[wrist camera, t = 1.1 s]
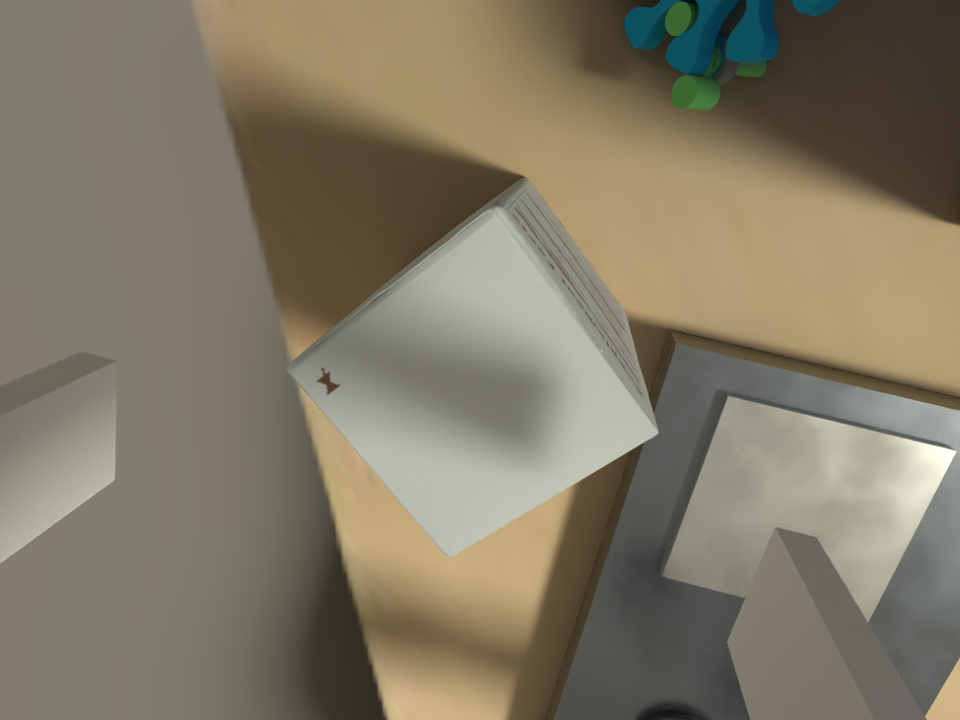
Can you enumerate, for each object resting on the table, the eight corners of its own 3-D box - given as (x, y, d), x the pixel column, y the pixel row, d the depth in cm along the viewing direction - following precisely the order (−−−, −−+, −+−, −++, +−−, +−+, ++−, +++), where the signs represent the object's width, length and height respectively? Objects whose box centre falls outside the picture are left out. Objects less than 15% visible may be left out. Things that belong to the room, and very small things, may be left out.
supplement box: (494, 401, 31) (441, 569, 19) (395, 272, 29) (271, 366, 18) (631, 312, 28) (668, 440, 17) (530, 169, 27) (492, 196, 15)
